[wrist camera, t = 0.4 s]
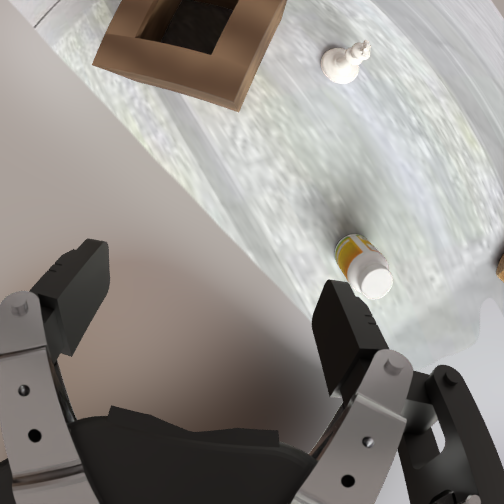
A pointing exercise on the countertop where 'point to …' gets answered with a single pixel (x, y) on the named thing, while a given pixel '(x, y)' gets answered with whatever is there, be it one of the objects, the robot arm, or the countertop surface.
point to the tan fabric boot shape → (500, 269)
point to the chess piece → (344, 62)
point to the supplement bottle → (363, 266)
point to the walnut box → (185, 60)
